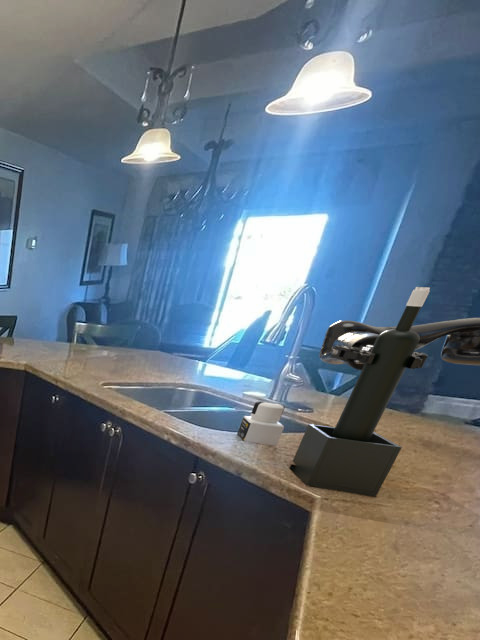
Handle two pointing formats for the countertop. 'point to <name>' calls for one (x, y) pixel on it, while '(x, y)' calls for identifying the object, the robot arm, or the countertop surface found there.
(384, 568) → the countertop surface
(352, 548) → the countertop surface
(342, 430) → the wine bottle
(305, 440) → the bin
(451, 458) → the countertop surface
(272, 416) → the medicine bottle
